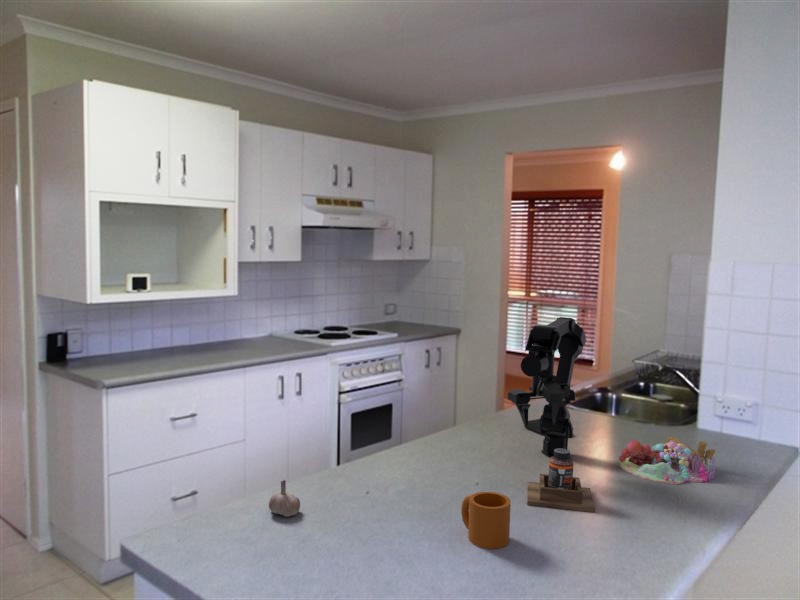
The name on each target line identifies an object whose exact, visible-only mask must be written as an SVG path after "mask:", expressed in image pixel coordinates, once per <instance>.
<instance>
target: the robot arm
mask: <svg viewBox="0 0 800 600" xmlns="http://www.w3.org/2000/svg"><path fill="white" fill-rule="evenodd" d="M586 341H587V337H586V334H585V330H584V329H583V328H582V327H581V326H580V325H579V324H577V322H576V320H575V319H574V318H573V317H565V316H564V317H563V316H560V317H557V318H556V319H555V320H553V321H552V322H550V323H548V324H545V325H543V324H535V325H534V326H533V327H532V329H531V330H530V331H529V336H528V338H527V342H526V345H525V351H526V352H527V351H528V355H527V356H524V357H523V358H522V360H521V362H520V369H521V371H522V373H523V374H524V375H526V376H527V377H531V386H529V391H530V392H529V391H526V390H523V389H520V388H519V389H510V390H509V391H508V392H507V400H509V401H510V402H511V403H513V404H514V405H515V406H516V409H517V410H518V412H519V414H520V418H521V421H522V424H523V426H526V427H527V425H528V421H529V409H530V408H531V404H530V402H531V400H538V399H539V400H541V399H545V401H546V402H547V403H548V404H545V405H544V406H543V409H542V410H543V411H542V414H541V416H540V418H539V419H540V430H541V434H544V435H545V436H544V439H543V440H542V449H541V450H540V452H541V453H542V454H544V455H545V456H547V457H548V458H549V459H550V458H551V457H553V456H554V449H557V448H562V449H567V450H568V446H569V445H568V444H569V443H568V442H569V439H573V436H574V427H573V423H572V421H571V414H570V411H569V409H568V405H571V404H572V401H573V402H575V401H576V399H577V397H576V396H577V394H576V392H575V391H574V390H573V389H572V388H571V382H572V377H573V372H574V366H575V362H576V359H577V358H579V356H580V355H581V354H583V353H582V352H583V349H584V347H586V346H585V345H586ZM556 351H557V352H558V353H559V360H558V364H557V370H556V374H554V372H555V371H554V370H555V367H554V366H555V353H556Z"/></svg>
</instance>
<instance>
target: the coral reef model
mask: <svg viewBox="0 0 800 600" xmlns="http://www.w3.org/2000/svg"><path fill="white" fill-rule="evenodd" d="M707 446H708V442H706V441H701V440H700V441H699V442H698V444H697V450H695V449H693V448H691V446H690V445H688V444H686V443H684V442H682V441H681V440H680V439H678V438H676V437H674V436H669V437H667V438H666V441H665V443H663V442H662V443H657V444H654V445H652V446H651V447H650V445H649V444H645V443H644V444H643V445H642V444H641V442H640V441H638V440H631V441H629V442H628V443H627V445H626V448H623V449H622V450H621V455H619V457H618V460H619V461H618V463H619V467H620V468H621V469H622V470H624V471H626V473H630V474H632V475H634V476H636V477H640V478H642V479H644V480H648V481H652V482H655V483H661V484H669V485H679V484H680V485H681V484H683V483H685V482H693V483H707V482H708V481H709V482H710V481H711V480H713V479H714V478H715V476H716V470H715V461H716V456H715V454H716V449H715V448H713V449H707ZM706 449H707V450H706Z"/></svg>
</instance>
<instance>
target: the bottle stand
mask: <svg viewBox="0 0 800 600" xmlns="http://www.w3.org/2000/svg"><path fill="white" fill-rule="evenodd" d="M548 477H549V474H545V473H544V474H543V473H539V482H535V481H527V487H526V489H527V490H526V491H527V493H526V494H527V497H526V499H527V500H526V502H527V503H526V505H527V506H534V507H543V508H544V507H545V508H553V509H561V510H572V511H578V512H579V511H582V512H590V513H595V512H596V506H595V502H594V498H593V494H592V488H591V487H586V486H582V484H581V479H580V477H576V476H573V480H572V490H568V489H558V488H548Z"/></svg>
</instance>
